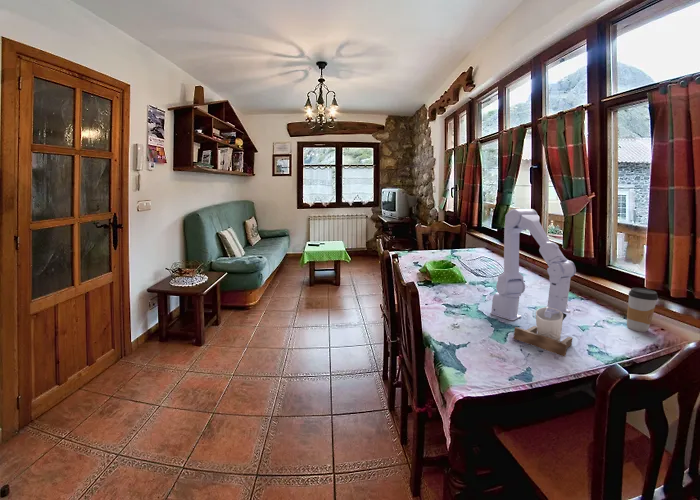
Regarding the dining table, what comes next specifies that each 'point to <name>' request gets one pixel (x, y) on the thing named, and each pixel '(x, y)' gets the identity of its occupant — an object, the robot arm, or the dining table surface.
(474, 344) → the dining table surface
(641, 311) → the coffee cup
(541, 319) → the white cup
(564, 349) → the bar
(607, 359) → the dining table surface
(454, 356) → the dining table surface
